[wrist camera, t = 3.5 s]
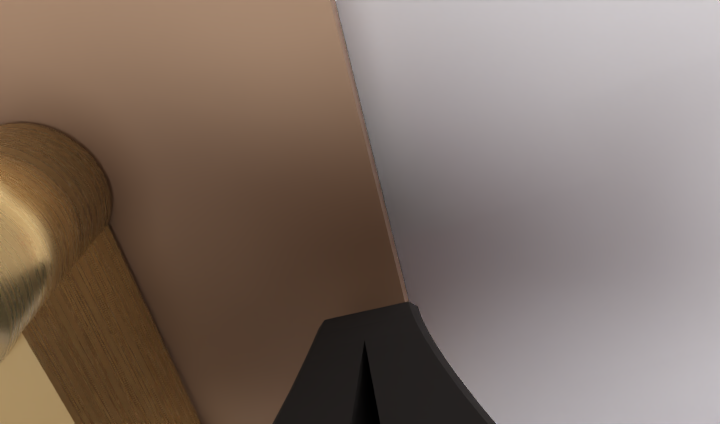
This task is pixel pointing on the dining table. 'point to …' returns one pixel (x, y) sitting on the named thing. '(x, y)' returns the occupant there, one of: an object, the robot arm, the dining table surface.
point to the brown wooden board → (217, 173)
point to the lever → (72, 297)
